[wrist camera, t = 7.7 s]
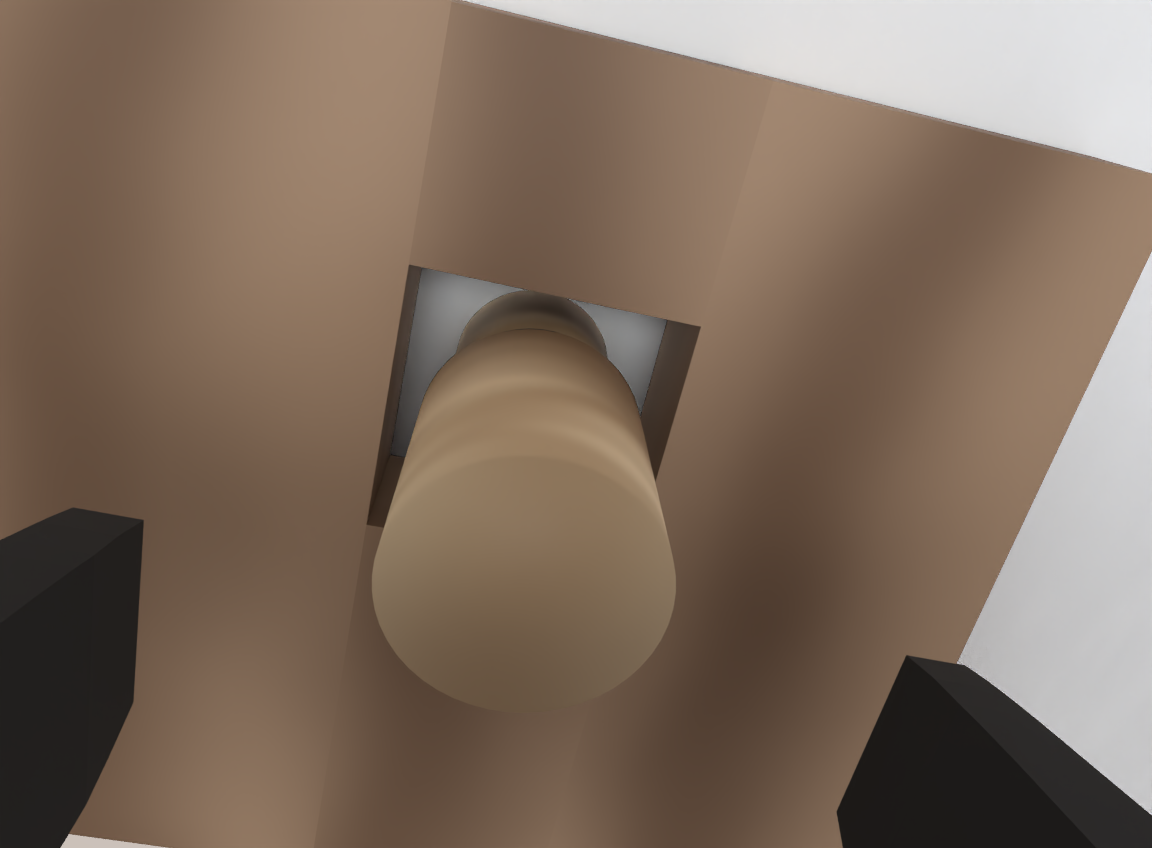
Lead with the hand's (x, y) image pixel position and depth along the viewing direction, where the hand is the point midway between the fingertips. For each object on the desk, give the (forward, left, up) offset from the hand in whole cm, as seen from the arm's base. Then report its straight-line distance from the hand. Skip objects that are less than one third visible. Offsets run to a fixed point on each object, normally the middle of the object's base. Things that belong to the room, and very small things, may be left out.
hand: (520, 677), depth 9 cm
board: (+1, +2, -8) cm, 8 cm away
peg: (0, 0, -8) cm, 8 cm away
